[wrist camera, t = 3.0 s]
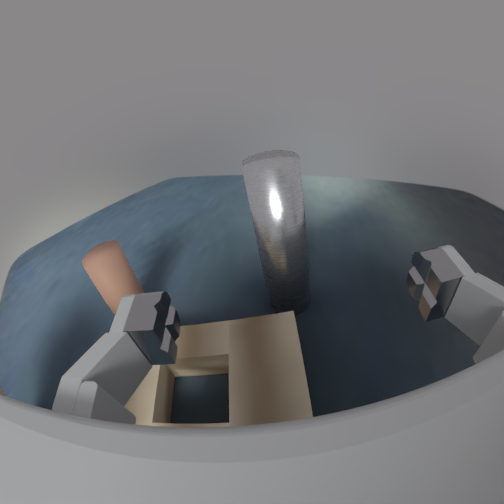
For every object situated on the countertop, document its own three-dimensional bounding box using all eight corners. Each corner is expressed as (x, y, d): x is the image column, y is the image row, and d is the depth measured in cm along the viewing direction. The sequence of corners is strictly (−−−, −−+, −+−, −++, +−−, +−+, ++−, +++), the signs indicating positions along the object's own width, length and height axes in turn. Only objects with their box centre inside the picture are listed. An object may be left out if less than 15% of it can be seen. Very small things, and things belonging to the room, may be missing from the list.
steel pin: (305, 282, 28) (293, 147, 20) (313, 311, 25) (304, 164, 17) (267, 288, 29) (241, 155, 20) (271, 318, 26) (241, 174, 17)
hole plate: (295, 332, 24) (293, 310, 22) (317, 465, 14) (319, 458, 12) (131, 349, 25) (116, 331, 23) (110, 462, 15) (88, 452, 14)
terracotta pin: (158, 303, 30) (124, 237, 24) (152, 332, 26) (110, 264, 21) (128, 307, 30) (92, 244, 24) (119, 334, 27) (76, 271, 21)
